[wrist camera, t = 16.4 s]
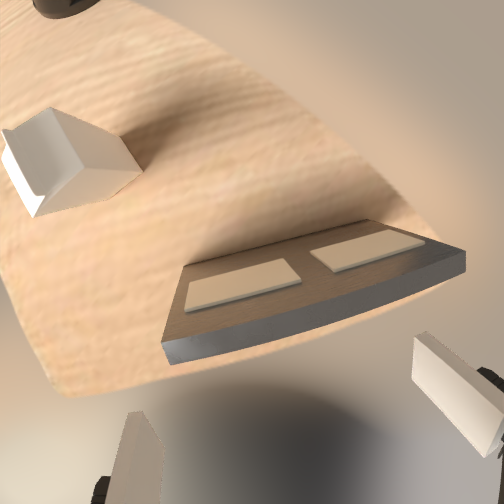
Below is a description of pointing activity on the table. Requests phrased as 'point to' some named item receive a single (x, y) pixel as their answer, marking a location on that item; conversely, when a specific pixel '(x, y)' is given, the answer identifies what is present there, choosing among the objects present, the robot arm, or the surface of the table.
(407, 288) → the label panel
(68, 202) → the milk
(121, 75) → the table surface
